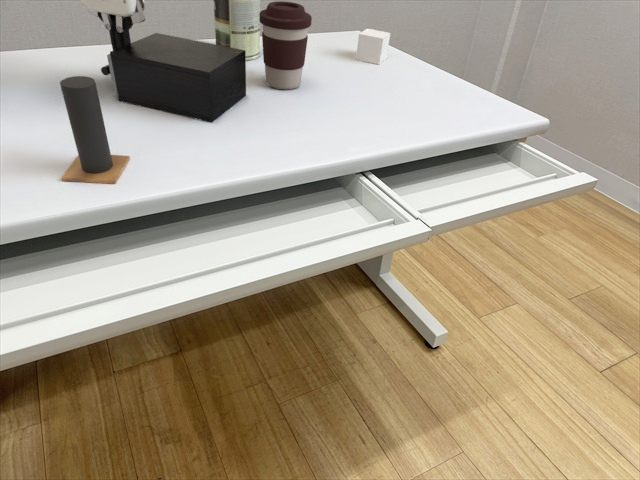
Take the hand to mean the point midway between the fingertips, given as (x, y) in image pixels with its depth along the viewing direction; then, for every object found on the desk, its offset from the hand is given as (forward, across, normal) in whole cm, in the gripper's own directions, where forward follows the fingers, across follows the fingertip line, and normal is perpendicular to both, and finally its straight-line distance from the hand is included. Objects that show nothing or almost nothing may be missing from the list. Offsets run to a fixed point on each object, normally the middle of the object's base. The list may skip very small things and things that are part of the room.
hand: (122, 52), depth 87 cm
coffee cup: (+6, +26, +16) cm, 31 cm away
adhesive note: (+6, +38, +43) cm, 58 cm away
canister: (+6, +15, -28) cm, 32 cm away
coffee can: (+6, +10, +29) cm, 31 cm away
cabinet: (+6, +12, 0) cm, 14 cm away
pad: (+6, +15, -28) cm, 32 cm away
